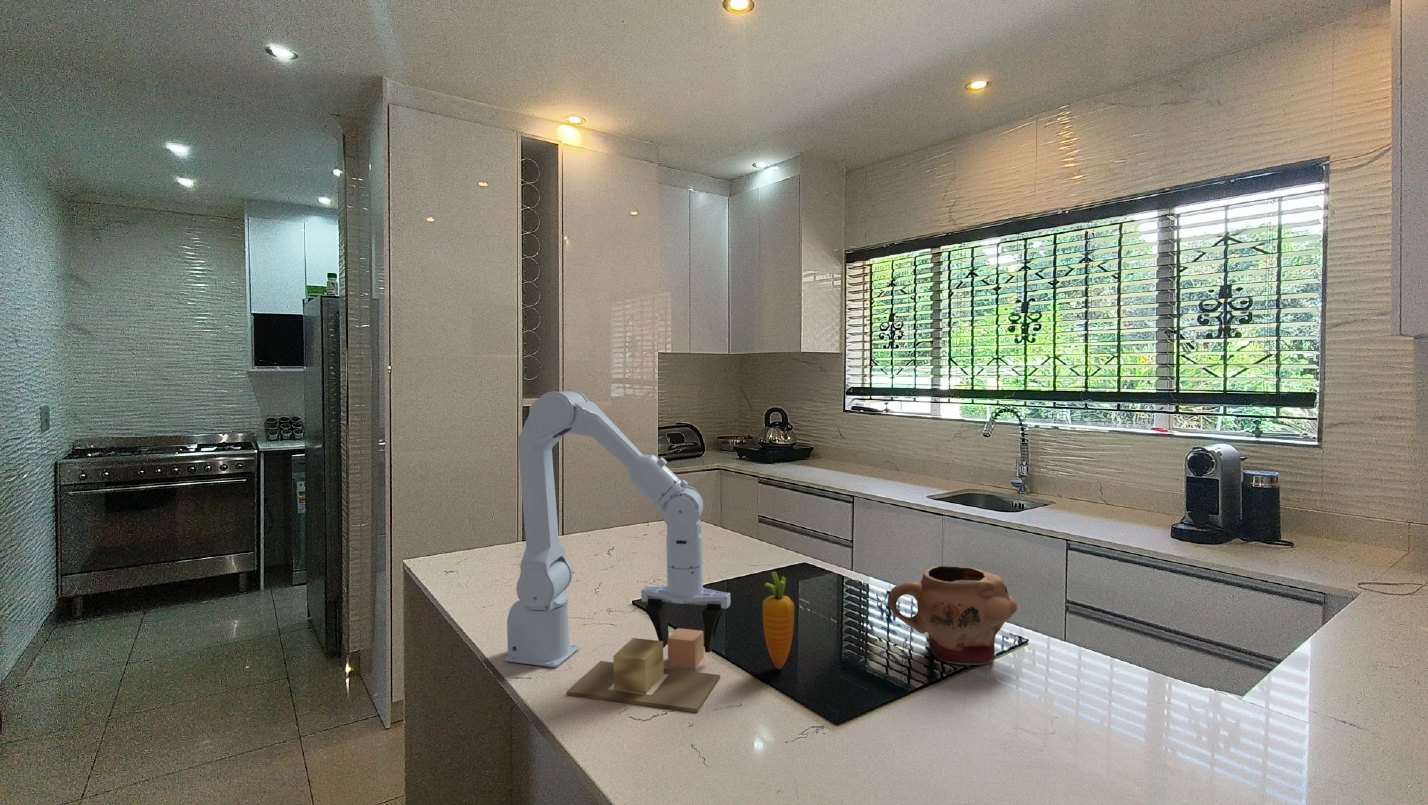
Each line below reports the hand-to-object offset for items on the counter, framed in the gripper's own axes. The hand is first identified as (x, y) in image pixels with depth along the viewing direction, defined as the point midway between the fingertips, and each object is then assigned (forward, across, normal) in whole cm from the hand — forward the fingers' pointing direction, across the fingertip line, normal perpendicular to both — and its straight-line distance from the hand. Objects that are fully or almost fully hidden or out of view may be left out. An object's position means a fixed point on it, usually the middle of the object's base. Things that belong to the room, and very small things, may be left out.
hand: (686, 647), depth 110 cm
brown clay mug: (+3, +41, +13) cm, 43 cm away
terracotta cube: (+2, 0, 0) cm, 2 cm away
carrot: (+2, +15, +1) cm, 15 cm away
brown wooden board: (+2, -3, -10) cm, 11 cm away
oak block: (+2, -4, -10) cm, 11 cm away
